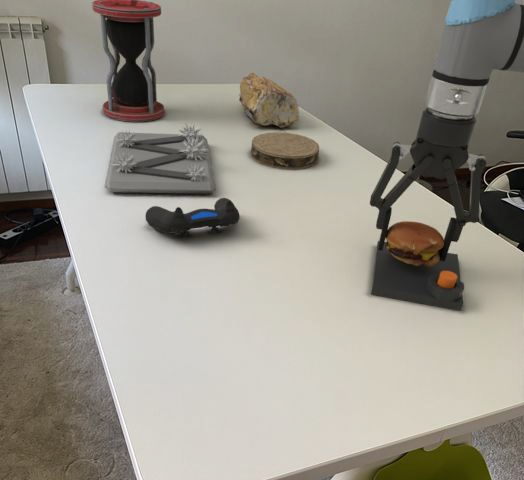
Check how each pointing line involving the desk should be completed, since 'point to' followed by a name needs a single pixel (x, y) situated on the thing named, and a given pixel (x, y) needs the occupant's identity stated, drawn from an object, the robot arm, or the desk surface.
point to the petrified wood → (267, 102)
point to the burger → (414, 243)
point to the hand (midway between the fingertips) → (411, 251)
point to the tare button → (447, 279)
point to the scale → (416, 280)
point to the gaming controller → (193, 217)
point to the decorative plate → (160, 163)
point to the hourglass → (130, 59)
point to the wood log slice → (284, 150)
